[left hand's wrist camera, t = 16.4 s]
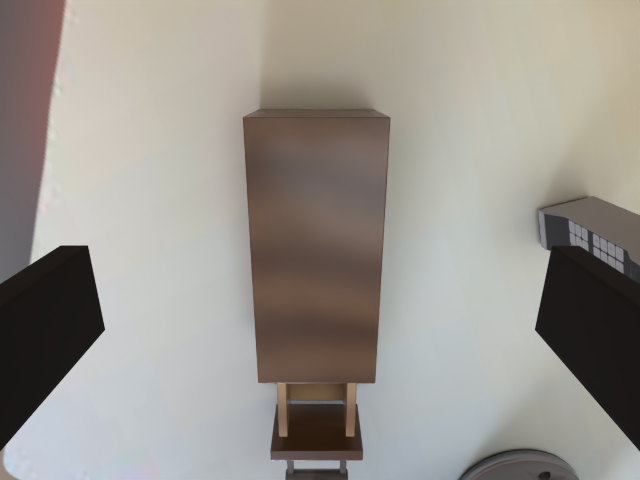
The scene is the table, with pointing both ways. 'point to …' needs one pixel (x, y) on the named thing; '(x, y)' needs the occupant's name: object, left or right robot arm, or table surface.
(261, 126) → the cabinet
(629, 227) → the vintage mobile phone
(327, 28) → the table surface
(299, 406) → the drawer
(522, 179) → the table surface
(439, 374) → the table surface
